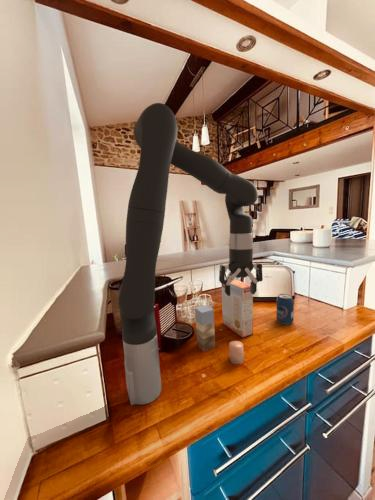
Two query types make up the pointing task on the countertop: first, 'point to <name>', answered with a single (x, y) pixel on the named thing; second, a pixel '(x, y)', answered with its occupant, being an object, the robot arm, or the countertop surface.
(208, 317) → the tower top
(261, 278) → the robot arm
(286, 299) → the soda can
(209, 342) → the tower base
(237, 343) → the pink rounded cylinder
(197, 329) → the tower mid
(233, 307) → the cracker box
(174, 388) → the countertop surface
